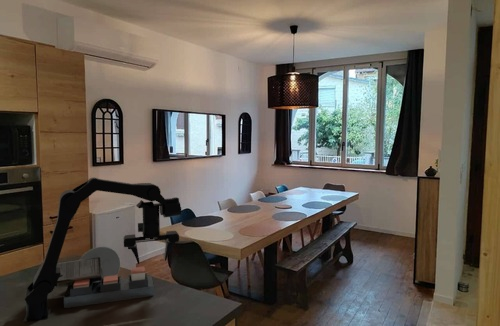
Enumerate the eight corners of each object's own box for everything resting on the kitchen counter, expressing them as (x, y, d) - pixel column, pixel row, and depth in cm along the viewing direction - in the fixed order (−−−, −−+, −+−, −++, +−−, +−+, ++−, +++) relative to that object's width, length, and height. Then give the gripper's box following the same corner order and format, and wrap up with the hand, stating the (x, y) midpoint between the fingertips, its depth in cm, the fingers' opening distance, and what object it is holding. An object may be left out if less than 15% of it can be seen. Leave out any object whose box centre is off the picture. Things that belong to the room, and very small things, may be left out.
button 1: (145, 279, 123) (145, 270, 123) (131, 281, 121) (131, 272, 121) (144, 274, 127) (144, 266, 127) (131, 276, 125) (131, 268, 125)
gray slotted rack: (153, 295, 123) (153, 279, 123) (64, 308, 113) (63, 290, 113) (151, 284, 132) (151, 269, 132) (68, 295, 123) (67, 278, 122)
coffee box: (52, 271, 125) (102, 263, 131) (52, 289, 122) (102, 281, 128) (48, 263, 118) (100, 256, 123) (47, 283, 115) (101, 274, 120)
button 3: (88, 292, 117) (88, 283, 117) (73, 294, 115) (73, 285, 115) (89, 287, 121) (89, 278, 121) (75, 288, 119) (75, 280, 119)
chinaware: (131, 267, 139) (129, 260, 133) (102, 300, 131) (99, 294, 125) (102, 246, 142) (98, 239, 136) (72, 277, 134) (67, 271, 127)
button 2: (117, 288, 120) (117, 279, 120) (103, 290, 118) (103, 281, 118) (117, 283, 124) (117, 275, 124) (104, 285, 122) (103, 276, 122)
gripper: (174, 212, 135) (175, 252, 136) (122, 216, 129) (124, 258, 130) (179, 218, 125) (179, 261, 126) (123, 223, 118) (124, 268, 119)
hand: (152, 262), depth 126 cm, fingers open, 9 cm apart
